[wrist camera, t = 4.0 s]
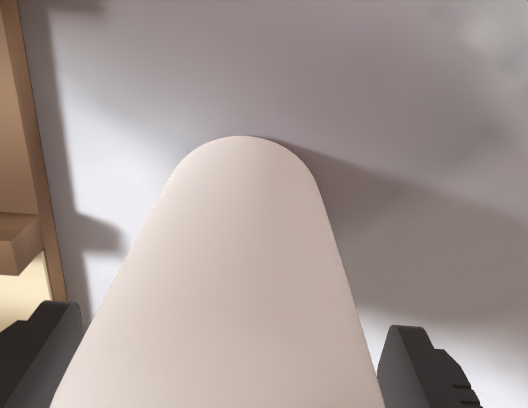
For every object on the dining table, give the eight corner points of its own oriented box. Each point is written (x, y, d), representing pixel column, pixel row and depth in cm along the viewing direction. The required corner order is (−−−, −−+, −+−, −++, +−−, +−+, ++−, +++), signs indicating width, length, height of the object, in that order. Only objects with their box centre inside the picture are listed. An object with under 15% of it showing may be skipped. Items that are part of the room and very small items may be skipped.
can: (137, 220, 17) (-74, 582, 6) (223, 97, 15) (121, 341, 4) (258, 292, 19) (254, 673, 8) (352, 192, 17) (518, 539, 6)
